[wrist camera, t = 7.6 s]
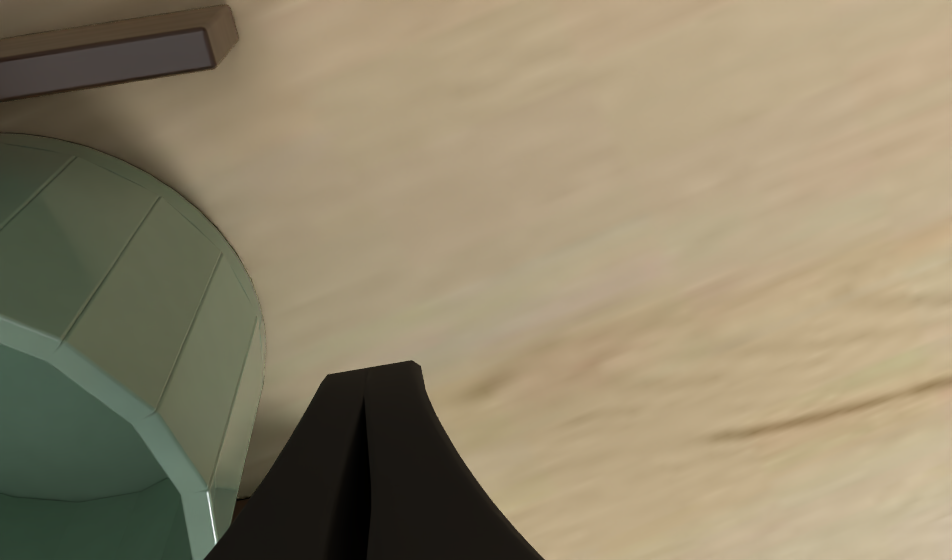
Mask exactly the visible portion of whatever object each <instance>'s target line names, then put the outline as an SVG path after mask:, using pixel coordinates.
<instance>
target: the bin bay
mask: <svg viewBox="0 0 952 560" xmlns="http://www.w3.org/2000/svg"><path fill="white" fill-rule="evenodd" d="M238 38H239V37H238V33H237V30H236V26H235V22H234V18H233V15H232V11H231V8H230V7H229V5H225V4H224V5H218V6H211V7H205V8H198V9H192V10H185V11H179V12H172V13H166V14H159V15H153V16H146V17H140V18H133V19H127V20H120V21H114V22H107V23H101V24H94V25H88V26H81V27H75V28H68V29H62V30H55V31H49V32H42V33H36V34H29V35H23V36H16V37H10V38H3V39H0V103H1V102H7V101H14V100H20V99H26V98H33V97H39V96H46V95H52V94H59V93H65V92H71V91H78V90H84V89H91V88H97V87H104V86H110V85H116V84H123V83H129V82H136V81H142V80H149V79H155V78H161V77H168V76H174V75H181V74H187V73H194V72H200V71H206V70H213V69H215V68H216V67H217V66H218V65H219V64H220V62H221V61H222V60H223V59H224V58H225V56H226V55H227V54H228V53H229V51H230V50H231V49H232V48H233V47H234V45H235V44H236V43H237V42H238ZM248 501H249V499H245V500H239V501H236V503H235V507H234V511H233V516H232V520H231V524H232V523H233V521H234V520H235V519H236V517H237V516H238V514H239V513H240V512H241V510H242V509H243V507H244V506H245V505H246V503H247V502H248ZM231 524H230V525H231Z"/></svg>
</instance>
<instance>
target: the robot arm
mask: <svg viewBox="0 0 952 560" xmlns="http://www.w3.org/2000/svg"><path fill="white" fill-rule="evenodd" d="M203 560H545V559H544V558H542V557H541V556H540V555H539V554H538V552H537V551H536V550H535V549H534V548H533V547H532V546H531V545H530V544H529V543H528V542H527V541H526V540H525V539H524V537H523V536H522V535H521V534H520V533H519V532H518V531H517V530H516V529H515V528H514V526H513V525H512V524H511V523H510V522H509V521H508V519H507V518H506V517H505V516H504V515H503V514H502V512H501V511H500V510H499V509H498V508H497V506H496V505H495V504H494V503H493V501H492V500H491V499H490V498H489V496H488V495H487V494H486V492H485V491H484V490H483V488H482V487H481V486H480V484H479V483H478V481H477V480H476V479H475V477H474V476H473V474H472V473H471V472H470V470H469V469H468V467H467V466H466V464H465V463H464V461H463V460H462V458H461V457H460V455H459V454H458V452H457V451H456V449H455V447H454V445H453V444H452V442H451V440H450V439H449V437H448V435H447V433H446V432H445V430H444V428H443V427H442V425H441V423H440V421H439V419H438V417H437V415H436V413H435V411H434V409H433V407H432V404H431V402H430V400H429V398H428V395H427V392H426V390H425V385H424V380H423V375H422V370H421V366H420V365H418V364H417V363H415V362H414V361H412V360H411V361H405V362H399V363H393V364H387V365H381V366H375V367H369V368H364V369H358V370H352V371H346V372H340V373H334V374H328V375H327V376H326V377H325V379H324V380H323V381H322V383H321V384H320V386H319V388H318V390H317V392H316V393H315V395H314V397H313V399H312V401H311V402H310V404H309V406H308V408H307V410H306V411H305V413H304V415H303V417H302V418H301V420H300V422H299V423H298V425H297V427H296V428H295V430H294V432H293V434H292V435H291V437H290V439H289V440H288V442H287V443H286V445H285V447H284V448H283V450H282V451H281V453H280V454H279V456H278V458H277V459H276V461H275V462H274V464H273V465H272V467H271V469H270V470H269V472H268V473H267V475H266V476H265V478H264V479H263V481H262V482H261V484H260V485H259V487H258V488H257V489H256V491H255V492H254V494H253V495H252V496H251V498H250V499H249V501H248V502H247V503H246V505H245V506H244V507H243V509H242V510H241V512H240V513H239V514H238V516H237V517H236V519H235V520H234V521H233V523H232V524H231V525H230V527H229V528H228V529H227V531H226V532H225V533H224V535H223V536H222V537H221V538H220V540H219V541H218V542H217V543H216V545H215V546H214V547H213V548H212V550H211V551H210V552H209V553H208V555H207V556H206V557H205V558H204V559H203Z"/></svg>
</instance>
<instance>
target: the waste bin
mask: <svg viewBox="0 0 952 560" xmlns="http://www.w3.org/2000/svg"><path fill="white" fill-rule="evenodd" d="M265 357H266V337H265V324H264V320H263V316H262V312H261V307H260V303H259V300H258V297H257V295H256V292H255V290H254V287H253V285H252V282H251V280H250V277H249V276H248V274H247V272H246V270H245V268H244V267H243V265H242V263H241V261H240V260H239V258H238V256H237V254H236V253H235V252H234V250H233V249H232V248H231V246H230V245H229V244H228V242H227V241H226V240H225V238H224V237H223V236H222V234H221V233H220V232H219V231H218V230H217V229H216V228H215V227H214V226H213V225H212V223H211V222H210V221H209V220H208V219H207V218H206V217H205V216H204V215H203V214H202V213H201V212H200V211H199V210H198V209H196V208H195V207H194V206H193V205H192V204H190V203H189V202H188V201H187V200H186V199H184V198H183V197H182V196H181V195H180V194H178V193H177V192H176V191H174V190H173V189H171V188H170V187H168V186H167V185H165V184H164V183H162V182H161V181H159V180H158V179H156V178H154V177H153V176H151V175H150V174H148V173H146V172H144V171H142V170H140V169H138V168H136V167H134V166H132V165H130V164H128V163H126V162H124V161H122V160H120V159H118V158H116V157H113V156H110V155H108V154H105V153H102V152H100V151H97V150H94V149H92V148H89V147H86V146H82V145H78V144H74V143H70V142H66V141H62V140H58V139H54V138H47V137H40V136H33V135H26V134H9V133H0V560H203V559H204V558H205V557H206V556H207V555H208V553H209V552H210V551H211V550H212V548H213V547H214V546H215V545H216V543H217V542H218V541H219V540H220V538H221V537H222V536H223V535H224V533H225V532H226V531H227V529H228V528H229V527H230V524H231V520H232V516H233V511H234V507H235V503H236V499H237V494H238V490H239V486H240V481H241V477H242V473H243V469H244V464H245V460H246V456H247V452H248V447H249V443H250V439H251V434H252V430H253V426H254V422H255V417H256V413H257V409H258V404H259V400H260V396H261V392H262V387H263V383H264V369H265Z"/></svg>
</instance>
